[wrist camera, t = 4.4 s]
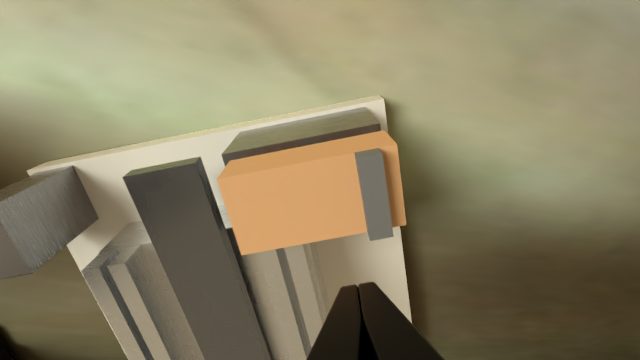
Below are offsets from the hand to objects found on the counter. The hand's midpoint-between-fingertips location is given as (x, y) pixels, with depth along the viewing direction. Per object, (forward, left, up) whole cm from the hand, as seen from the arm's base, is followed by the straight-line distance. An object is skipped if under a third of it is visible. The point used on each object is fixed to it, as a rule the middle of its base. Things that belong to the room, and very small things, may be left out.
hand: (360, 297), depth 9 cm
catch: (-1, +1, -6) cm, 6 cm away
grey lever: (-7, -5, -7) cm, 11 cm away
